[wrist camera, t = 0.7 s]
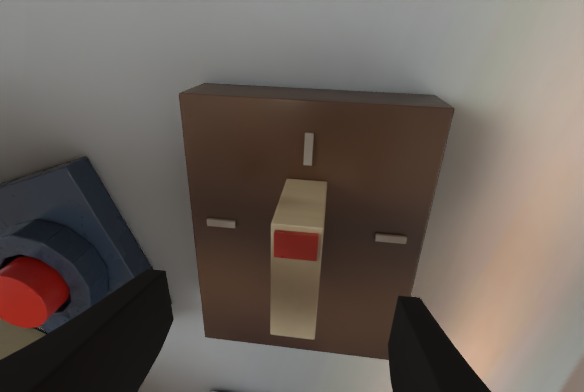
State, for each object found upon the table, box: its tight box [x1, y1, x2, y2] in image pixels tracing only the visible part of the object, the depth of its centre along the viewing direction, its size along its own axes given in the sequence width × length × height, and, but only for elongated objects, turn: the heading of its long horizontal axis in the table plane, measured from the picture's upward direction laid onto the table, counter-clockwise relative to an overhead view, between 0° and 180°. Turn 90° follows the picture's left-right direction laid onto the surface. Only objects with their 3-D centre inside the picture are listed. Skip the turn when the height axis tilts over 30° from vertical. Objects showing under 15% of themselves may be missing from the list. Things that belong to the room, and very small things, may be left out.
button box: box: [0, 157, 172, 334], centre depth 21 cm, size 11×9×4 cm
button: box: [0, 256, 70, 328], centre depth 19 cm, size 4×4×2 cm
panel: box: [179, 83, 454, 360], centre depth 18 cm, size 14×11×3 cm
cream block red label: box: [270, 179, 327, 340], centre depth 14 cm, size 5×2×4 cm, turn 178°
